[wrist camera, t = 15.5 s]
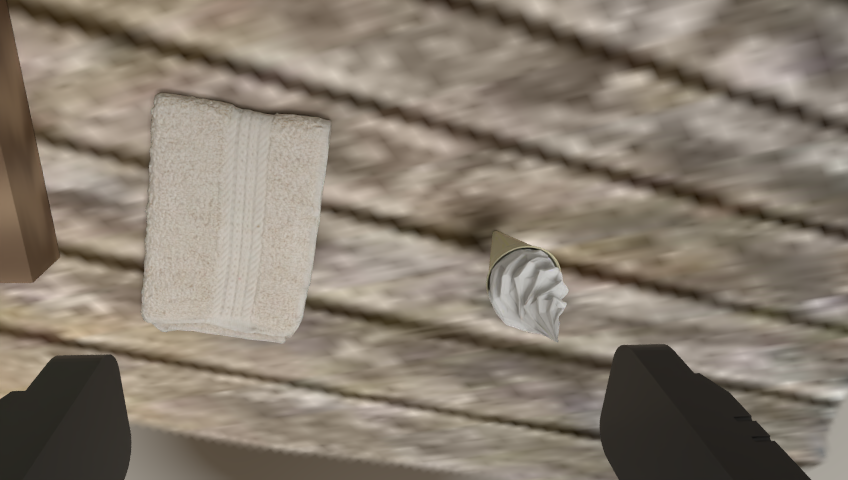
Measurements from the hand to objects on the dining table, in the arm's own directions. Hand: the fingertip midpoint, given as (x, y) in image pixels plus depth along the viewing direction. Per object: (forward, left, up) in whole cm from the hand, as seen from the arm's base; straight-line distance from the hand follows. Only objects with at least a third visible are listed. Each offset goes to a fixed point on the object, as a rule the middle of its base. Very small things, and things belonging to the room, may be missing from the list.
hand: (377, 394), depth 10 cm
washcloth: (+10, -9, -34) cm, 36 cm away
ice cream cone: (+11, +11, -33) cm, 37 cm away
